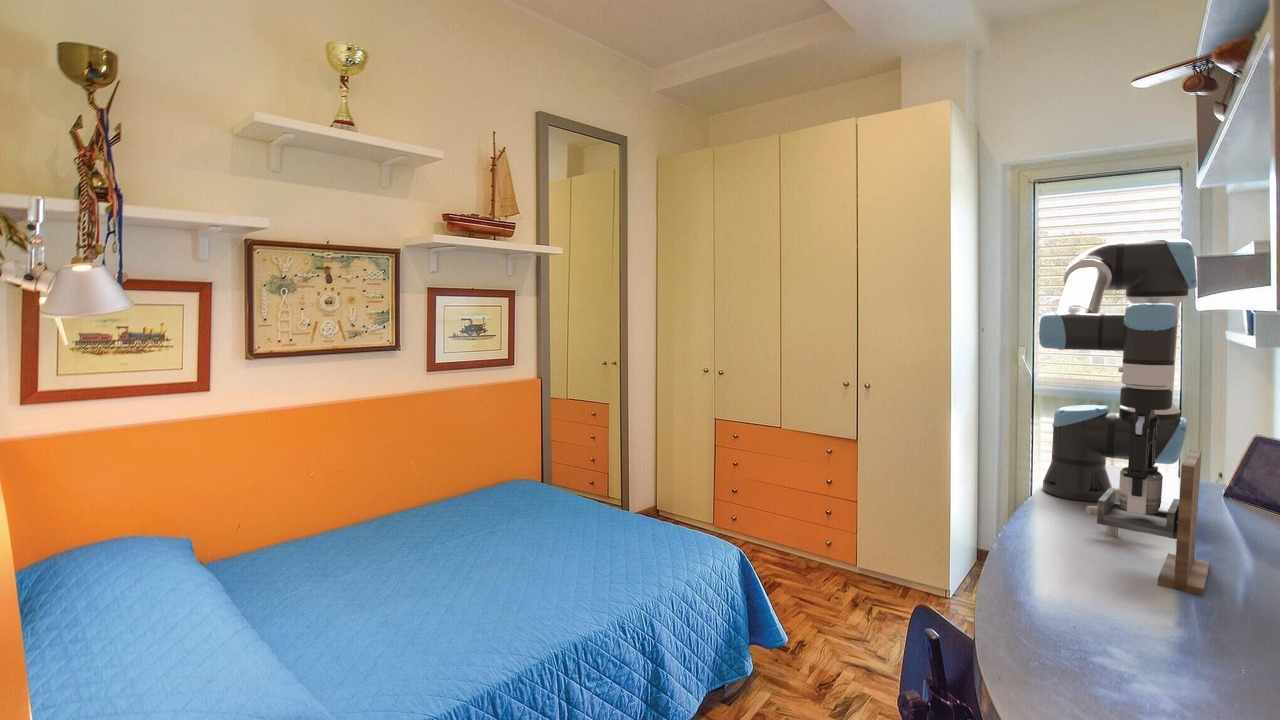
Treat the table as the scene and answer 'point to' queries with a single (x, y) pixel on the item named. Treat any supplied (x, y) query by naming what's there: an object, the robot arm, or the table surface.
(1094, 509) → the pipe connector
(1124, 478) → the camera lens
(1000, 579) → the table surface
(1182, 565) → the cup bracket
